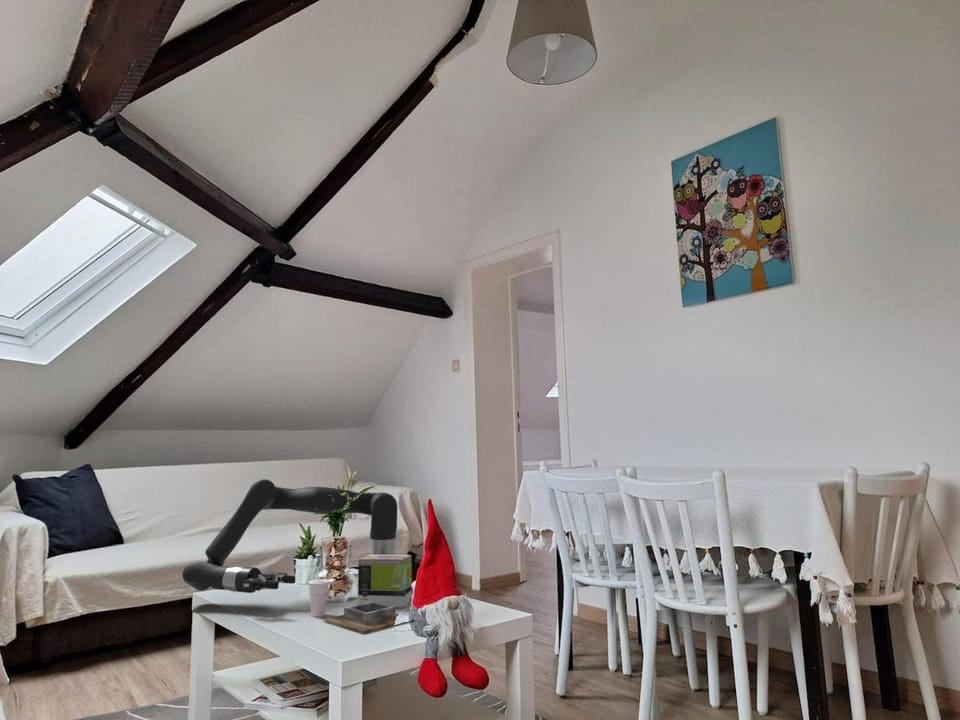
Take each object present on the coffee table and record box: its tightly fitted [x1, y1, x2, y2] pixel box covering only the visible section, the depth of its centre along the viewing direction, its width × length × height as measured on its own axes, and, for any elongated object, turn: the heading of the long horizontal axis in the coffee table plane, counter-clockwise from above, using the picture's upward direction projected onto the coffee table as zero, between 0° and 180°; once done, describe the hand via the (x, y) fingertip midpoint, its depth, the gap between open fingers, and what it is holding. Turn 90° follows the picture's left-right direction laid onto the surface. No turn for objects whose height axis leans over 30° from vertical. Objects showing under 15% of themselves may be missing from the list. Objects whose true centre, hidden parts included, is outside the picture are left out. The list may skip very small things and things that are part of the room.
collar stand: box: [324, 601, 400, 635], centre depth 176 cm, size 18×18×4 cm
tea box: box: [357, 554, 413, 609], centre depth 197 cm, size 15×10×15 cm, turn 79°
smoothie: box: [307, 565, 331, 618], centre depth 184 cm, size 6×6×14 cm
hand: (286, 582), depth 187 cm, fingers open, 8 cm apart
